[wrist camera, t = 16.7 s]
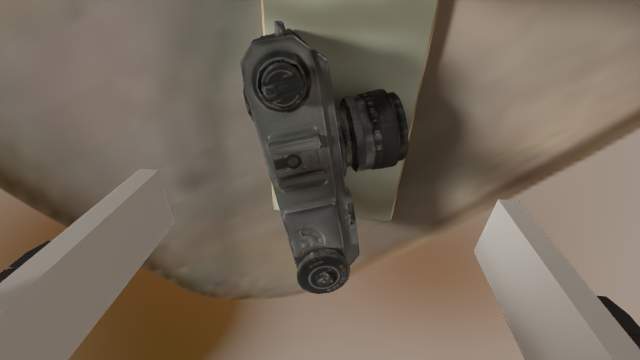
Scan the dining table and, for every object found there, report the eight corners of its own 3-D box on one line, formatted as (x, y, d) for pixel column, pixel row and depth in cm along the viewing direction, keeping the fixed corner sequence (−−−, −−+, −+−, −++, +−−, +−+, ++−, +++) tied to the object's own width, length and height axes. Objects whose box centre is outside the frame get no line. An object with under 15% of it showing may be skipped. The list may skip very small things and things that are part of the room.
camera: (387, 203, 29) (432, 283, 20) (298, 223, 29) (305, 311, 20) (371, -1, 20) (440, -15, 11) (242, 27, 20) (212, 34, 11)
